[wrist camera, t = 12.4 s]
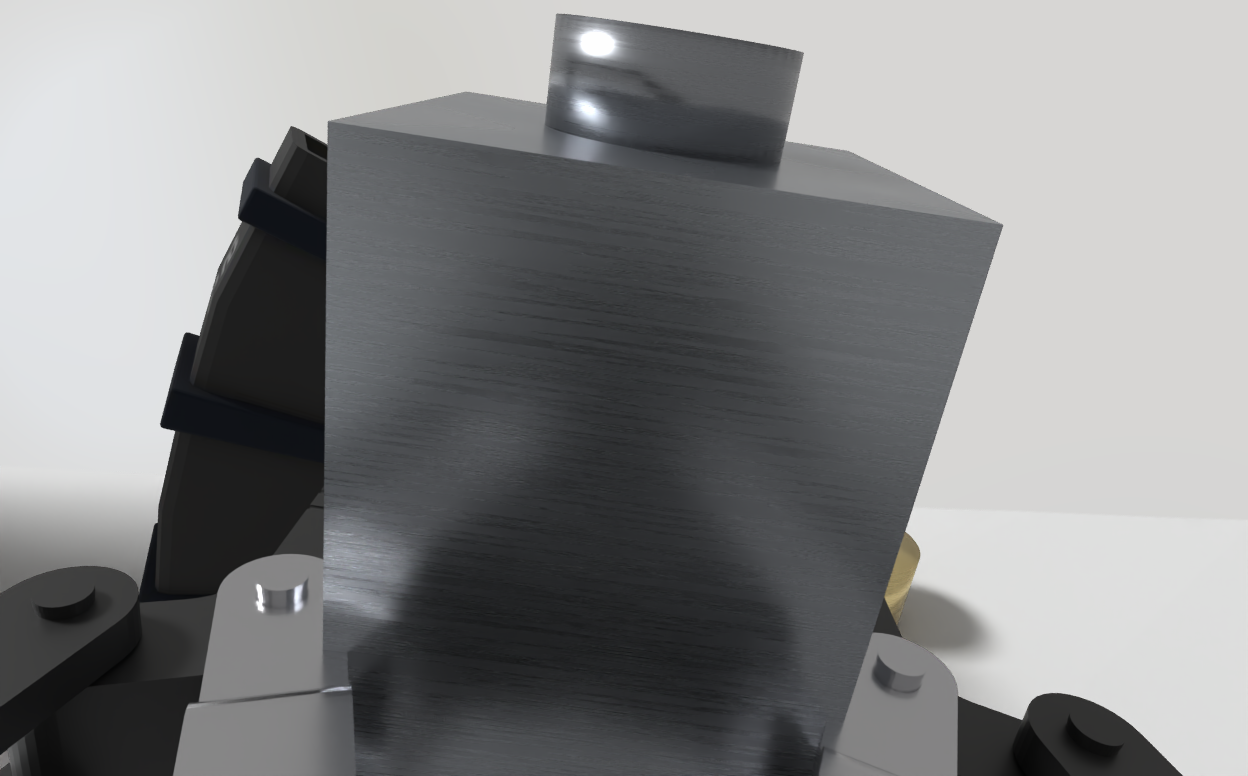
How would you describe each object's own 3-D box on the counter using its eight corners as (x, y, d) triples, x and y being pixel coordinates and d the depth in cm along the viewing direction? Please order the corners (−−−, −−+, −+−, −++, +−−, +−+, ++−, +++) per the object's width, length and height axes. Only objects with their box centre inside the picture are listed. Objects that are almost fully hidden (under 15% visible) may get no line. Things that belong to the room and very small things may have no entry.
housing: (317, 1148, 11) (329, -32, 6) (415, 820, 15) (472, 7, 10) (693, 1190, 11) (1049, 82, 6) (678, 853, 16) (868, 69, 10)
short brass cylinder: (799, 632, 29) (819, 562, 28) (783, 566, 33) (800, 502, 32) (910, 648, 29) (935, 578, 28) (882, 580, 33) (902, 517, 32)
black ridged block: (35, 590, 23) (276, 115, 20) (449, 682, 30) (671, 334, 27) (-2, 685, 20) (277, 138, 17) (469, 764, 27) (723, 379, 24)
